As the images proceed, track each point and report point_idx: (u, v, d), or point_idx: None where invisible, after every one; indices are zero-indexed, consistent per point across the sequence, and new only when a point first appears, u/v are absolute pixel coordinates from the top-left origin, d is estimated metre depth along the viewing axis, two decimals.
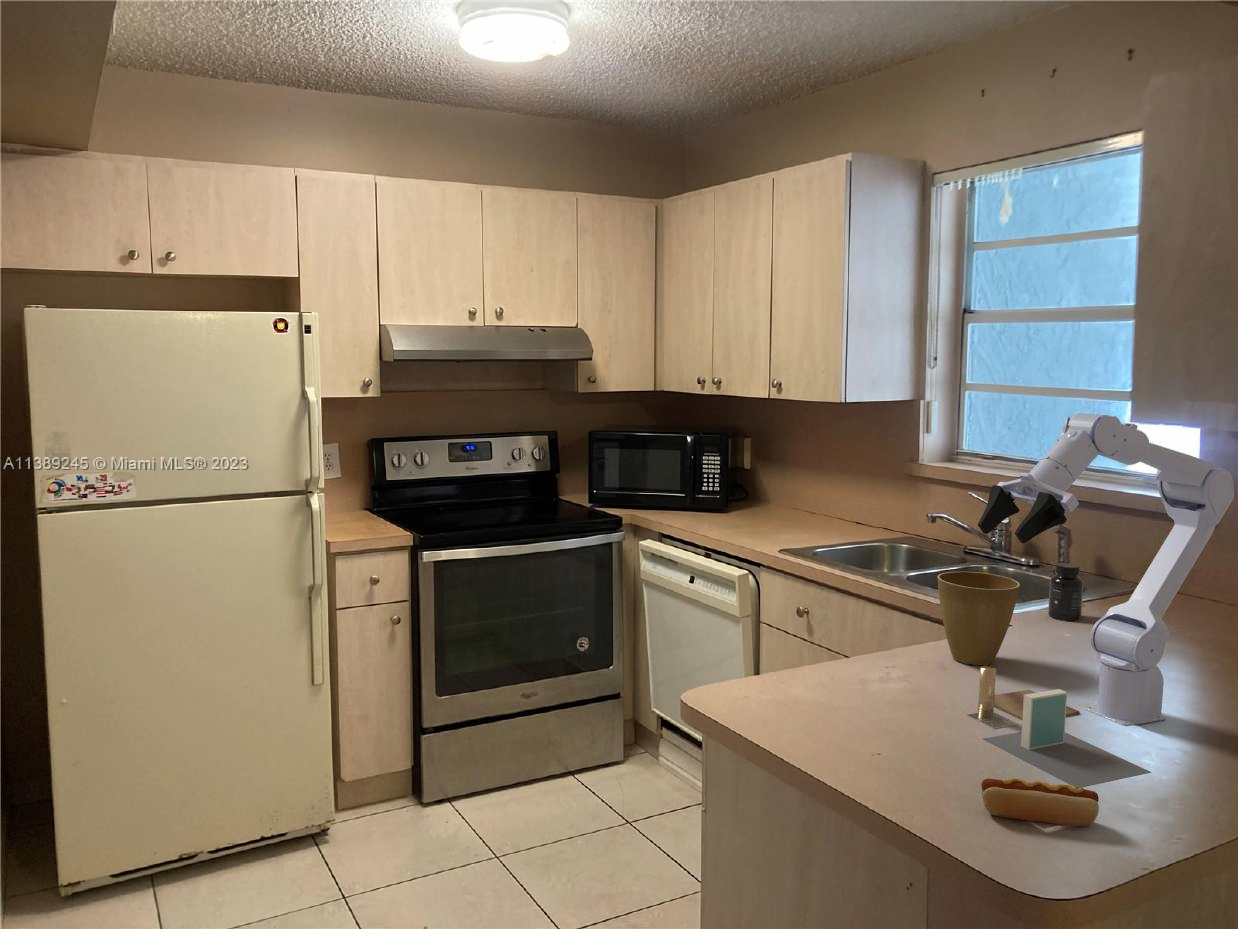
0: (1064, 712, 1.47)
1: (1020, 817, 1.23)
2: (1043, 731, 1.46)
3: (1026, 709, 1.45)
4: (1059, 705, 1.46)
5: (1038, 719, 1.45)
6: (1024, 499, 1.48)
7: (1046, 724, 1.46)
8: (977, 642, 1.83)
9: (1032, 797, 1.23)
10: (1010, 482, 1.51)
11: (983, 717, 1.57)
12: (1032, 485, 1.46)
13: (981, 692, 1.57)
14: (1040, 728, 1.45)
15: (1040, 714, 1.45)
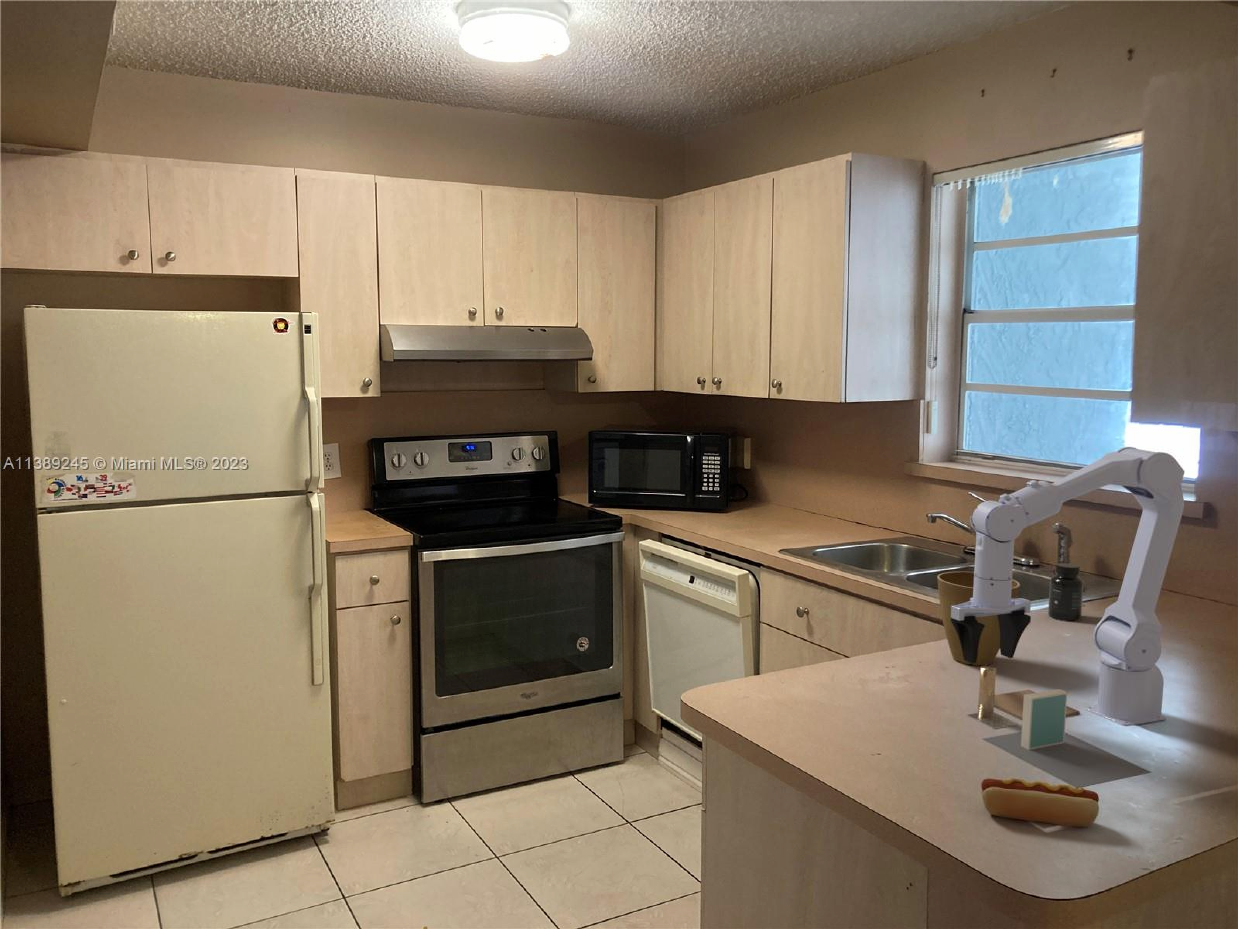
0: (1064, 712, 1.47)
1: (1020, 817, 1.23)
2: (1043, 731, 1.46)
3: (1026, 709, 1.45)
4: (1059, 705, 1.46)
5: (1038, 719, 1.45)
6: None
7: (1046, 724, 1.46)
8: None
9: (1032, 797, 1.22)
10: None
11: (983, 717, 1.57)
12: None
13: (981, 692, 1.57)
14: (1040, 728, 1.45)
15: (1040, 714, 1.45)
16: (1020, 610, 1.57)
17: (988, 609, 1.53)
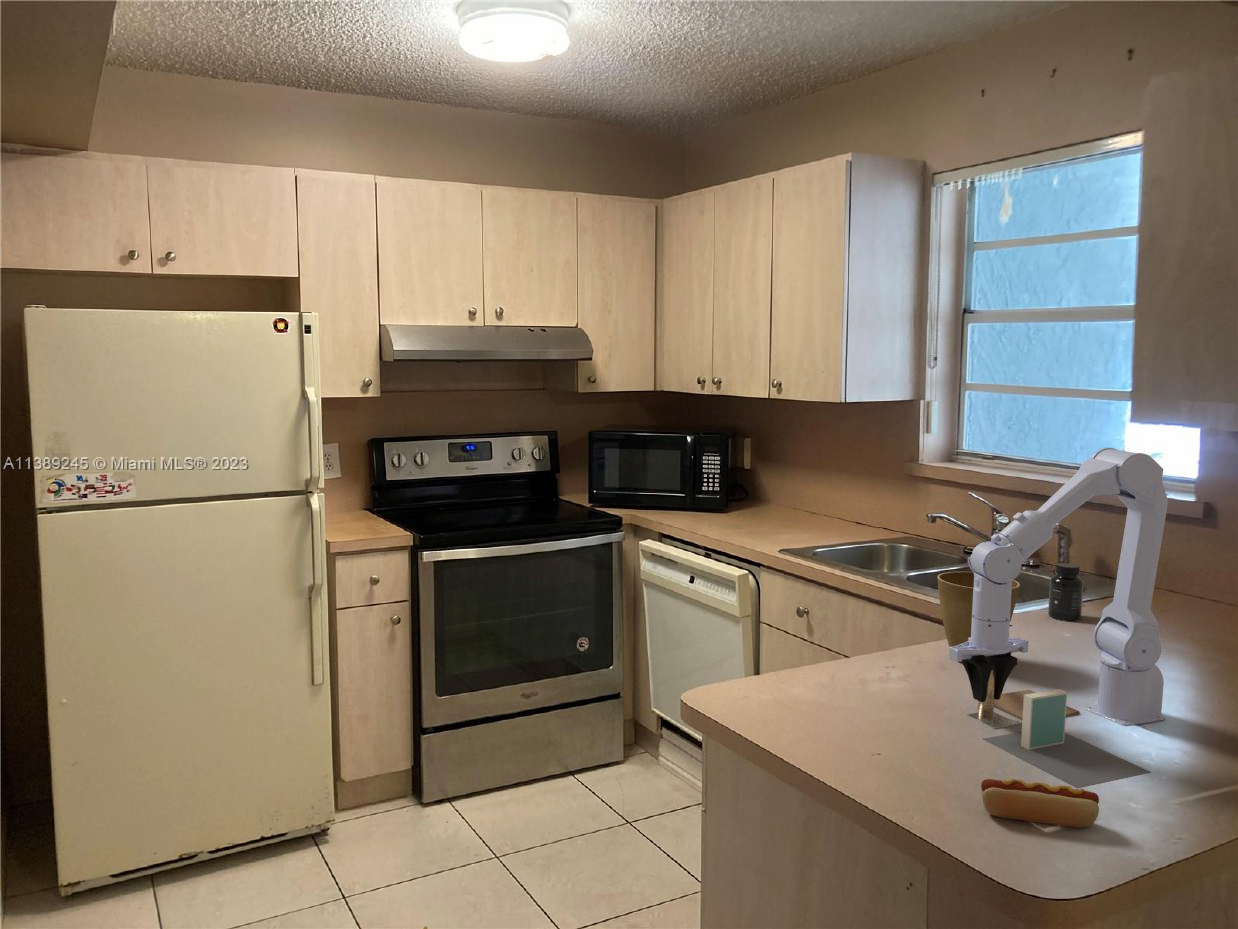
0: (1064, 712, 1.47)
1: (1019, 818, 1.23)
2: (1043, 731, 1.46)
3: (1026, 709, 1.45)
4: (1059, 705, 1.46)
5: (1038, 719, 1.45)
6: (994, 654, 1.57)
7: (1046, 724, 1.46)
8: None
9: (1031, 798, 1.22)
10: None
11: (983, 717, 1.57)
12: None
13: None
14: (1040, 728, 1.45)
15: (1040, 714, 1.45)
16: None
17: (986, 650, 1.53)
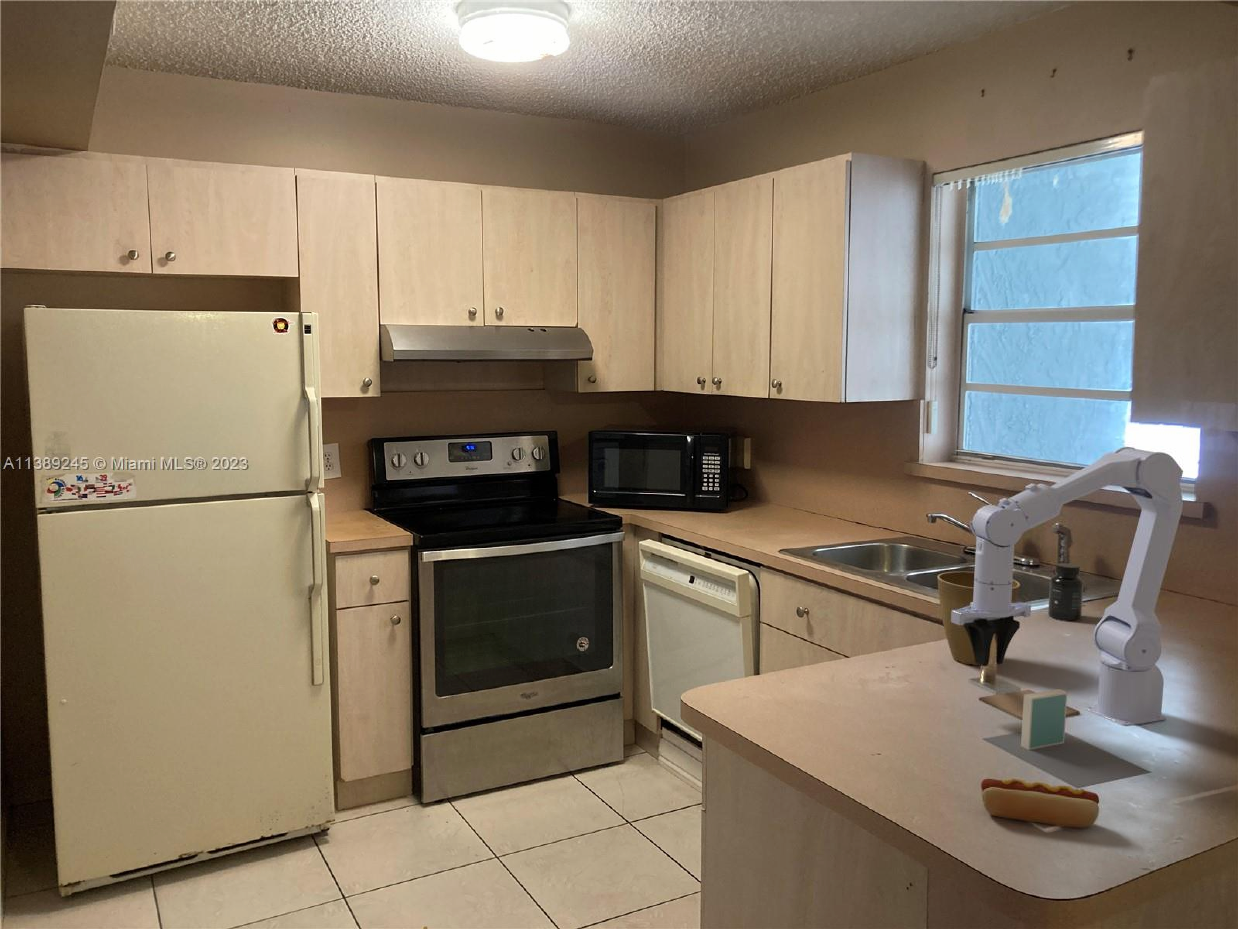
0: (1064, 712, 1.47)
1: (1019, 817, 1.23)
2: (1043, 731, 1.46)
3: (1026, 709, 1.45)
4: (1059, 705, 1.46)
5: (1038, 719, 1.45)
6: (997, 618, 1.56)
7: (1046, 724, 1.46)
8: None
9: (1031, 798, 1.22)
10: None
11: (985, 681, 1.56)
12: None
13: None
14: (1040, 728, 1.45)
15: (1040, 714, 1.45)
16: (1009, 616, 1.57)
17: (988, 614, 1.53)
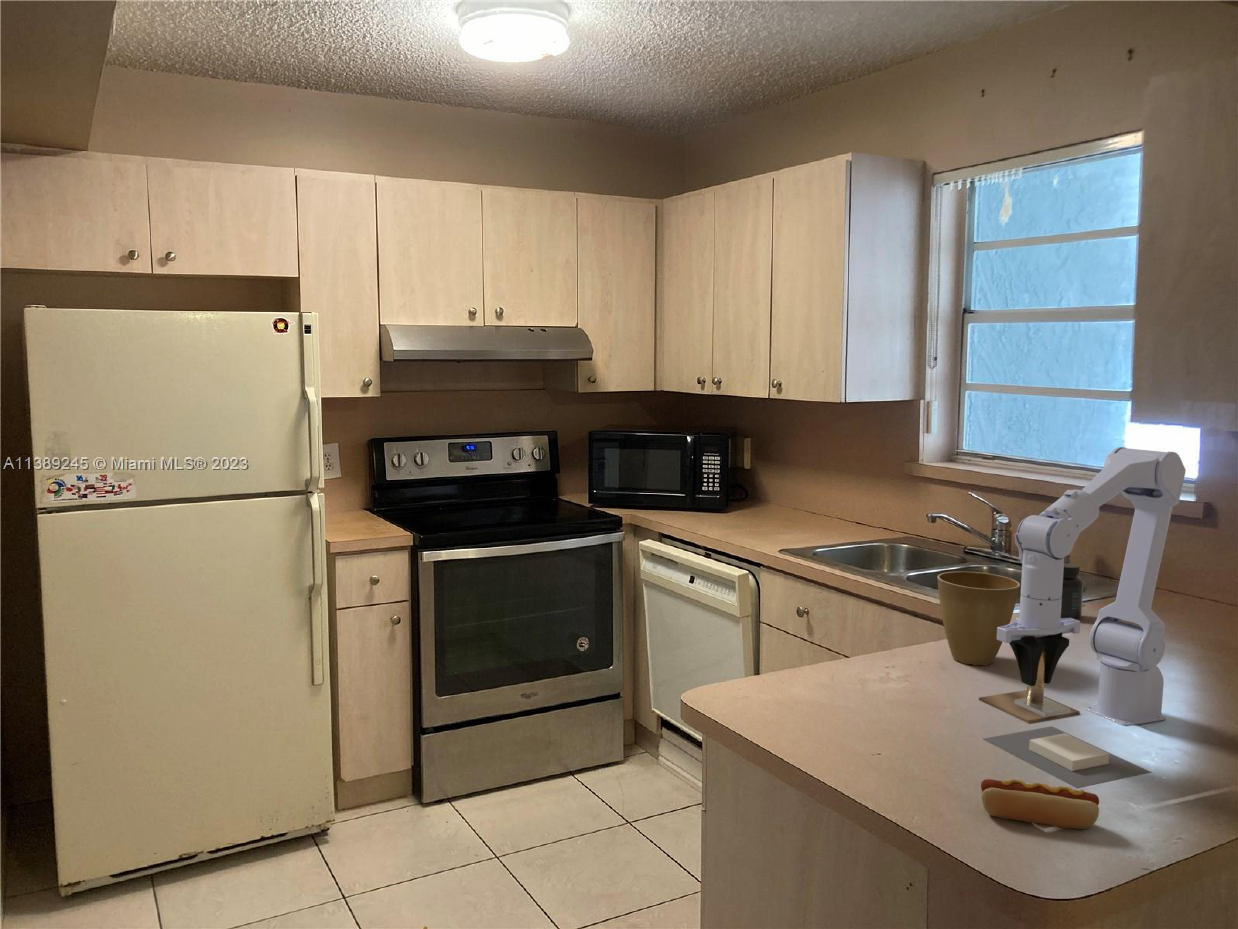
0: None
1: (1019, 818, 1.23)
2: None
3: (1061, 760, 1.39)
4: None
5: None
6: (1044, 635, 1.47)
7: None
8: (977, 642, 1.83)
9: (1031, 798, 1.22)
10: None
11: (1032, 702, 1.47)
12: None
13: None
14: None
15: None
16: None
17: (1037, 631, 1.44)
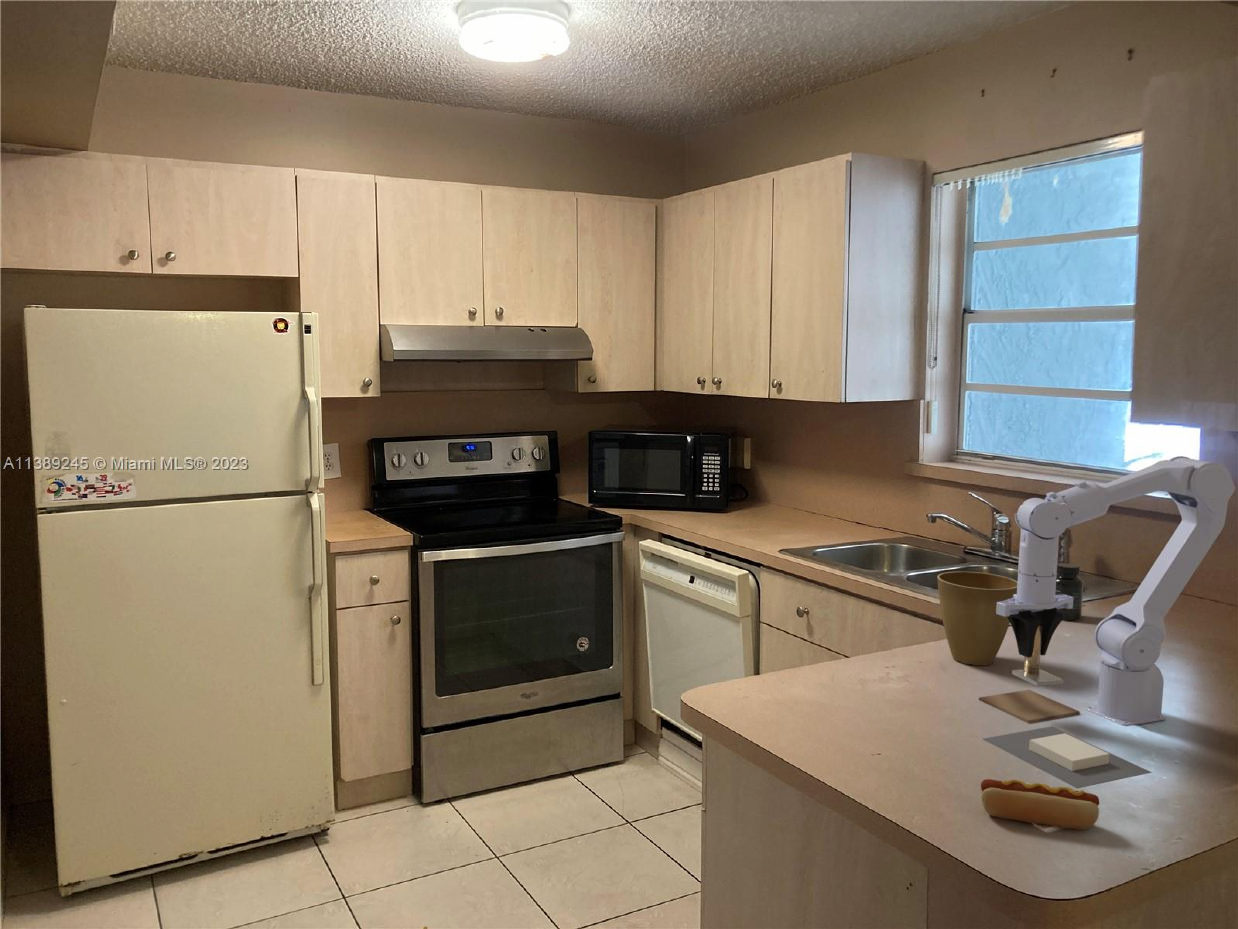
0: None
1: (1018, 818, 1.23)
2: None
3: (1061, 760, 1.39)
4: None
5: None
6: None
7: None
8: (977, 642, 1.83)
9: (1031, 799, 1.22)
10: None
11: (1028, 673, 1.58)
12: None
13: None
14: None
15: None
16: (1052, 607, 1.58)
17: (1033, 605, 1.54)
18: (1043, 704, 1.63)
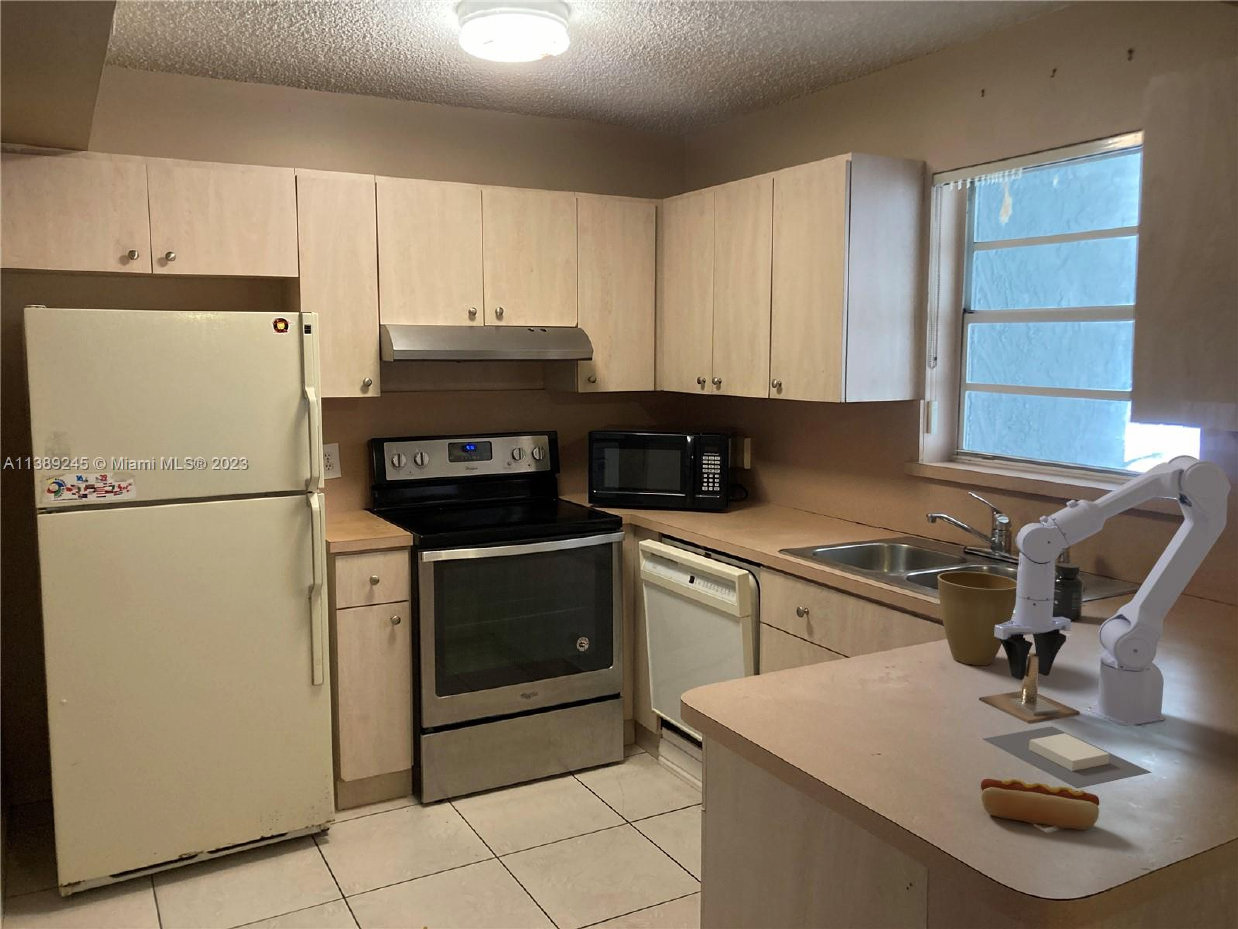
0: None
1: (1018, 818, 1.23)
2: None
3: (1061, 760, 1.39)
4: None
5: None
6: (1038, 632, 1.62)
7: None
8: (977, 642, 1.83)
9: (1030, 798, 1.22)
10: None
11: (1026, 702, 1.62)
12: None
13: (1024, 677, 1.62)
14: None
15: None
16: (1055, 629, 1.62)
17: (1031, 628, 1.58)
18: None
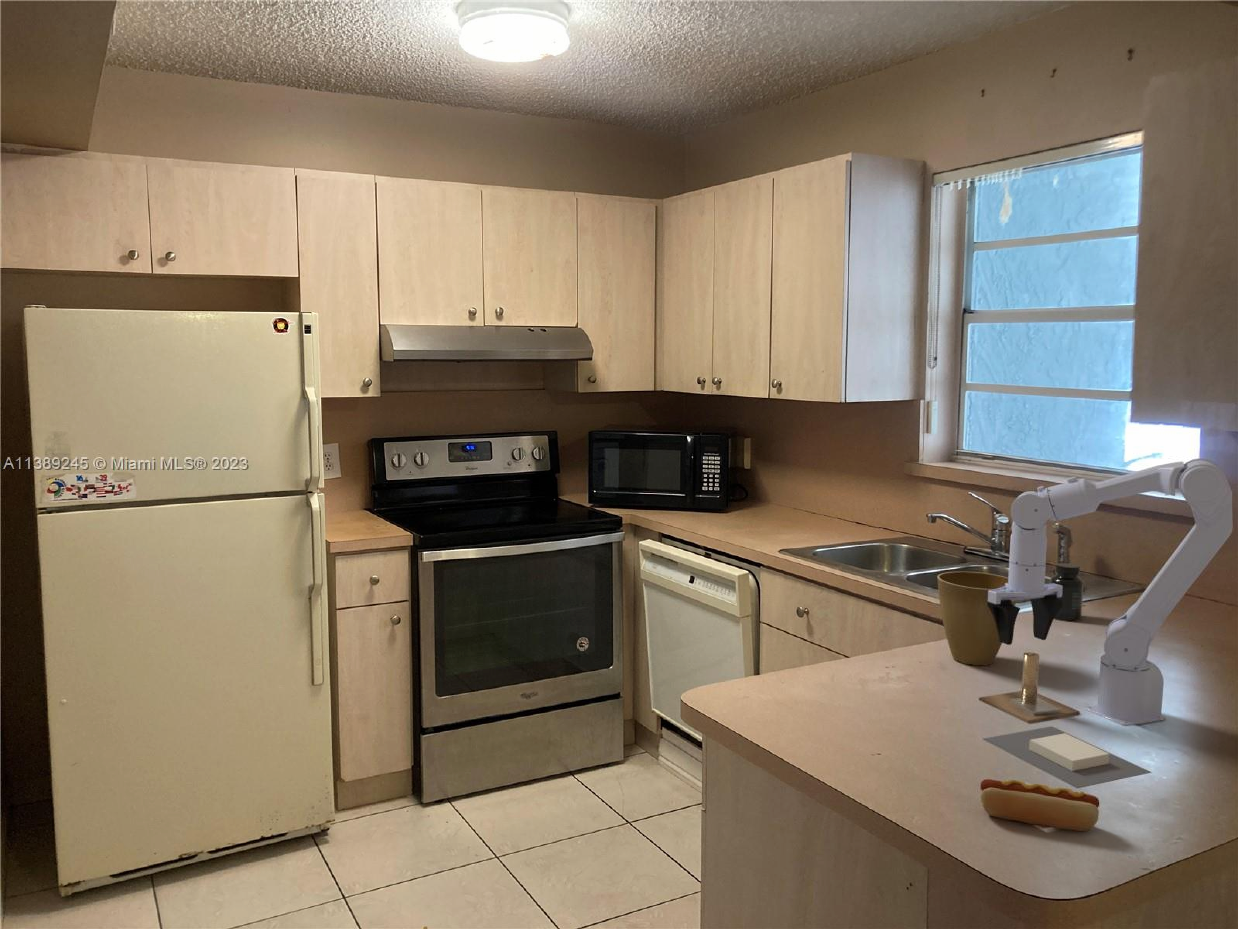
0: None
1: (1017, 819, 1.23)
2: None
3: (1061, 760, 1.39)
4: None
5: None
6: None
7: None
8: (977, 642, 1.83)
9: (1030, 799, 1.22)
10: None
11: (1026, 702, 1.62)
12: None
13: (1024, 677, 1.62)
14: None
15: None
16: (1052, 595, 1.66)
17: (1023, 593, 1.62)
18: None
